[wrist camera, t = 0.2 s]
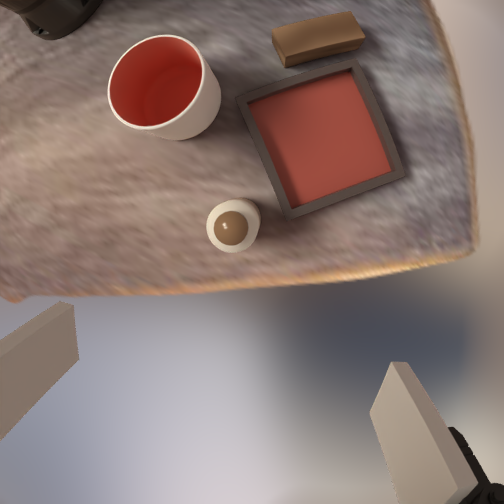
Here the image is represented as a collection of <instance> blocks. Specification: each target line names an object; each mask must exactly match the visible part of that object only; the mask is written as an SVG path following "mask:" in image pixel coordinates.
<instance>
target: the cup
mask: <svg viewBox="0 0 504 504" xmlns="http://www.w3.org/2000/svg"><path fill="white" fill-rule="evenodd" d="M108 100H109V104H110V107H111V109H112V111H113V113H114V114H115V116H116V117H117V118H118V119H119V120H120V121H121V122H122V123H124V124H125V125H127V126H129V127H132V128H135V129H138V130H141V131H143V132H146V133H149V134H152V135H155V136H158V137H161V138H163V139H167V140H185V139H188V138H191V137H194V136H196V135H198V134H199V133H201V132H202V131H204V130H205V129H206V128H207V127H208V126H209V125H210V124H211V123H212V122H213V120H214V119H215V117H216V115H217V113H218V111H219V108H220V104H221V89H220V86H219V83H218V81H217V79H216V77H215V76H214V74H213V72H212V70H211V69H210V67H209V65H208V64H207V62H206V60H205V59H204V57H203V55H202V54H201V52H200V51H199V49H198V48H197V47H196V46H195V45H194V44H193V43H191V42H190V41H188V40H187V39H185V38H182V37H179V36H175V35H158V36H153V37H150V38H147V39H144V40H142V41H140V42H139V43H137V44H135V45H134V46H132V47H131V48H130V49H129V50H127V51H126V52H125V53H124V54H123V55H122V57H121V58H120V59H119V60H118V62H117V63H116V65H115V67H114V69H113V71H112V73H111V76H110V79H109V84H108Z"/></svg>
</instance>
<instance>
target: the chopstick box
mask: <svg viewBox="0 0 504 504" xmlns="http://www.w3.org/2000/svg"><path fill="white" fill-rule="evenodd" d="M365 38H366V37H365V35H364V33H363V31H362V30H361V28H360V26H359V24H358V23H357V21H356V19H355V17H354V16H353V14H352V12H351V11H348V12H342V13H337V14H332V15H327V16H322V17H317V18H313V19H309V20H304V21H300V22H296V23H293V24H289V25H285V26H282V27H278V28H275V29H272V43H273V45H274V47H275V49H276V51H277V53H278V55H279V57H280V60H281V62H282V64H283V66H284V68H287V67H290V66H294V65H297V64H300V63H304V62H307V61H311V60H315V59H318V58H322V57H326V56H330V55H334V54H338V53H343V52H347V51H351V50H356V49H358V48H359V47H360V45H361V44H362V42H363V41H364V39H365Z"/></svg>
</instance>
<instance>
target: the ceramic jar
mask: <svg viewBox="0 0 504 504" xmlns="http://www.w3.org/2000/svg"><path fill="white" fill-rule="evenodd" d="M260 224H261V214H260V211H259V209H258V207H257V206H256V205H255V204H254V203H253V202H252V201H251V200H249V199H246V198H234V199H231V200H229V201H226V202H224V203H221V204H219V205H218V206H216V207H215V208H214V209H213V210H212V211H211V213H210V215H209V217H208V220H207V234H208V236H209V239H210V240H211V242H212V243H213V244H214V245H215V246H216V247H217V248H219V249H220V250H222V251H225V252H230V253H236V252H240V251H243V250H245V249H247V248H248V247H249V246H250V245H251V244H252V243H253V242H254V240H255V238H256V236H257V233H258V230H259V227H260Z"/></svg>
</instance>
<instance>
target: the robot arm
mask: <svg viewBox="0 0 504 504" xmlns="http://www.w3.org/2000/svg"><path fill="white" fill-rule="evenodd" d="M101 1H102V0H0V6H2V7H5V8H7V9H9V10H11V11H13V12H15V13H17V14H19V15H20V16H21V18H22V19H23V21H24V22H25V24H26V25H27V26H28V28H29V29H30V31H31V32H32V33H33V34H34V35H36V36H38V37H40V38H42V39H45V40H54V39H58V38H61V37H63V36H65V35H67V34H69V33H70V32H72V31H73V30H75V29H76V28H78V27H79V26H80V25H81V24H83V23H84V22H85V21H86V20H87V19H88V18H89V17H90V16H91V15H92V14H93V12H94V11H95V10H96V9H97V7H98V6H99V5H100V3H101ZM78 360H79V354H78V347H77V338H76V328H75V317H74V306H73V305H71V304H68V303H64V302H61V301H60V302H58V303H57V304H55V305H53V306H52V307H50V308H49V309H47V310H46V311H44V312H42V313H41V314H39V315H38V316H36V317H35V318H33V319H31V320H30V321H28V322H27V323H25V324H24V325H22V326H21V327H19V328H18V329H17V330H15V331H14V332H12V333H10V334H9V335H7V336H6V337H4V338H3V339H1V340H0V441H1V440H2V439H3V438H4V437H5V436H6V434H7V433H8V432H9V431H10V430H11V429H12V428H13V427H14V426H15V425H16V423H18V421H19V420H20V419H21V418H22V417H23V416H24V415H25V414H26V413H27V412H28V411H29V410H30V409H31V408H32V407H33V406H34V404H36V402H38V400H39V399H40V398H41V397H42V396H43V395H44V394H45V393H46V392H47V391H48V390H49V389H50V388H51V387H52V386H53V385H54V384H55V383H56V382H57V381H58V380H59V379H60V378H61V377H62V376H63V375H64V374H65V373H66V372H67V371H68V370H69V369H70V368H71V367H72V366H73V365H74V364H75V363H76V362H77V361H78ZM369 413H370V417H371V419H372V422H373V425H374V428H375V431H376V434H377V437H378V440H379V443H380V446H381V448H382V452H383V454H384V458H385V461H386V464H387V467H388V470H389V473H390V476H391V480H392V483H393V486H394V489H395V492H396V496H397V499H398V502H399V504H504V485H502V484H498V483H492V484H491V483H490V481H489V480H488V478H487V476H486V474H485V473H484V471H483V469H482V467H481V465H480V464H479V462H478V460H477V459H476V457H475V455H473V452H472V450H471V448H470V447H468V443H467V442H466V440H465V438H464V437H463V435H462V434H460V433H459V432H458V431H457V430H456V429H455V428H454V427H447V426H446V424H445V422H444V421H443V419H442V417H441V416H440V414H439V412H438V411H437V409H436V407H435V406H434V404H433V402H432V401H431V399H430V398H429V396H428V394H427V393H426V391H425V390H424V388H423V387H422V385H421V383H420V382H419V380H418V379H417V377H416V375H415V374H414V372H413V371H412V369H411V368H410V366H409V365H408V363H407V362H391V363H390V366H389V369H388V371H387V374H386V376H385V378H384V381H383V383H382V386H381V388H380V390H379V392H378V395H377V397H376V399H375V401H374V404H373V406H372V408H371V410H370V412H369Z"/></svg>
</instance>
